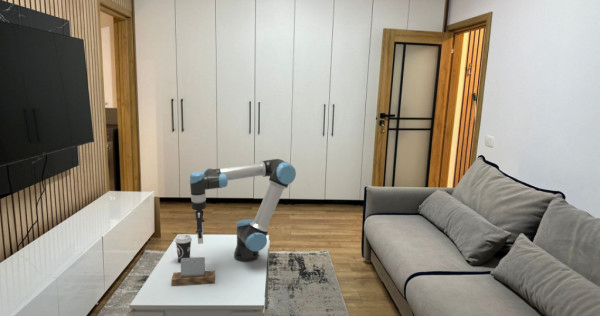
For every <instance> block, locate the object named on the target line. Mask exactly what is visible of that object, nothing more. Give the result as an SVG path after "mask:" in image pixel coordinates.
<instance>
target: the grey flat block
mask: <svg viewBox="0 0 600 316" xmlns="http://www.w3.org/2000/svg"><path fill="white" fill-rule="evenodd" d="M205 258H206V257H205V256H203V257H202V256H201V257H200V256H197V257H190V258H181V263H180V272H181V277H197V276H198V277H200V276H205V271H206V266H205V265H206V263H205V262H206V261H205V260H206V259H205Z"/></svg>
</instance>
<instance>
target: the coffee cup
mask: <svg viewBox="0 0 600 316" xmlns="http://www.w3.org/2000/svg"><path fill="white" fill-rule="evenodd" d="M192 239H193V238H192V237H191V235H190V234H185V233H184V234H179V235H177V236H176V237H175V240H174V242H175V246H176V253H177V261H178V263H180V264H181V258H191V248H192V246H191V245H192V241H193V240H192Z"/></svg>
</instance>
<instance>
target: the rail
mask: <svg viewBox="0 0 600 316" xmlns="http://www.w3.org/2000/svg"><path fill="white" fill-rule="evenodd" d="M170 280H171V287H173V286H176V287H177V286H191V285H194V286H196V285H209V284H213V285H214V284H215V283H216V270H205V276H200V277H198V276H197V277H181V271H179V272H177V271H175V272H173V273H172V277H171V279H170Z"/></svg>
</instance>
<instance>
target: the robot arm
mask: <svg viewBox="0 0 600 316" xmlns="http://www.w3.org/2000/svg"><path fill="white" fill-rule="evenodd" d="M296 174H297V172H296V168H295V166H293V164H291V163H290V162H287V161H284V160H283V159H281V158H280V159H279V158H272V159H266V160H261V161H260V162H258V163H252V164H251V163H250V164H244V165H243V164H241V165H236V166H229V167H222V168H221V167H220V168H214V169H213V168H210V167H209V168H206V169H204V171H195V172H192V173H190V174H189V187H190V196H189V198H190V199H191V209H192V210H194V211H195V220H196V231H195V233H196V235H197V244H198V245H200V244H201V245H202V244H204V234H205V232H204V231H205V230H204V229H205V228H204V222H205V219H204V217H203V216H204V210H205V209H206V208H207V201H206V200H207V197H206V195H207V194H206V190H216V189H222V188H226V187H227V186H228V182H229V181H233V180H240V179H241V180H242V179H246V178H254V177H264V178H265V177H269V179H268V182H269V185H268V188H267V189H266V191H265V195H264V197H263V198H262V201H261V204H260V205H259V208H258V210H257V213H256V215H255V217H254V219H249V218H247V219H241V220H239V221H237V223H236V245H235V246H236V247H235V250H234V253H233V258H234V260H236V261H238V262H239V261H240V262H251V261H252V262H253V261H256V260H257V259H258V258H259V257H260V253H259V252H260V251H262V250H263V249H264V248H265V247H266V246H267V243H268V238H267V235H268V232H269V229H268V226H269V224H270V222H271V219H272V217H273V215H274V212H275V211H276V207H277V205H278V203H279V201H280V199H281V196H282V195H283V192H284V190H285V189H288V186H289V185H290V184H291V183H293V182H294V180H295V178H296V176H297V175H296Z"/></svg>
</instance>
